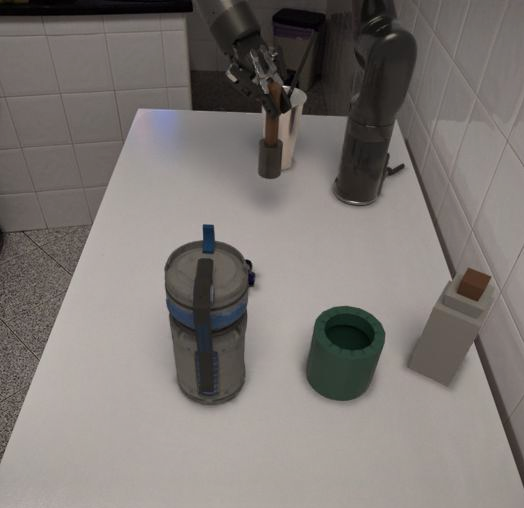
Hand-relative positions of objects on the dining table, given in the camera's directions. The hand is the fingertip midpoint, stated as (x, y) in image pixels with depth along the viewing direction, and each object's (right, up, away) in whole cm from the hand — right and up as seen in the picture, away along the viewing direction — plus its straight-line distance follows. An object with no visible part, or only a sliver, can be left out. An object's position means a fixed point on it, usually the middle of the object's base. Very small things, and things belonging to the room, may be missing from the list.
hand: (282, 113), depth 87 cm
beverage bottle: (-11, -46, -10) cm, 48 cm away
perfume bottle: (+24, -43, -5) cm, 49 cm away
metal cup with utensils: (+1, +3, +31) cm, 32 cm away
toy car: (-11, -28, +5) cm, 30 cm away
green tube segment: (+8, -44, -8) cm, 46 cm away
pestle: (-2, -7, +10) cm, 12 cm away
